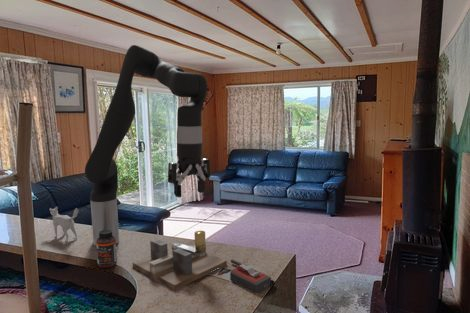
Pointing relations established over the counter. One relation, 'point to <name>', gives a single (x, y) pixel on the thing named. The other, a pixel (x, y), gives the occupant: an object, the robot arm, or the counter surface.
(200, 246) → the swing bar
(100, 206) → the robot arm
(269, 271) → the counter surface
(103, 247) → the supplement bottle
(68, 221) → the cat figurine
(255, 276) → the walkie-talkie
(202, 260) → the lock base
